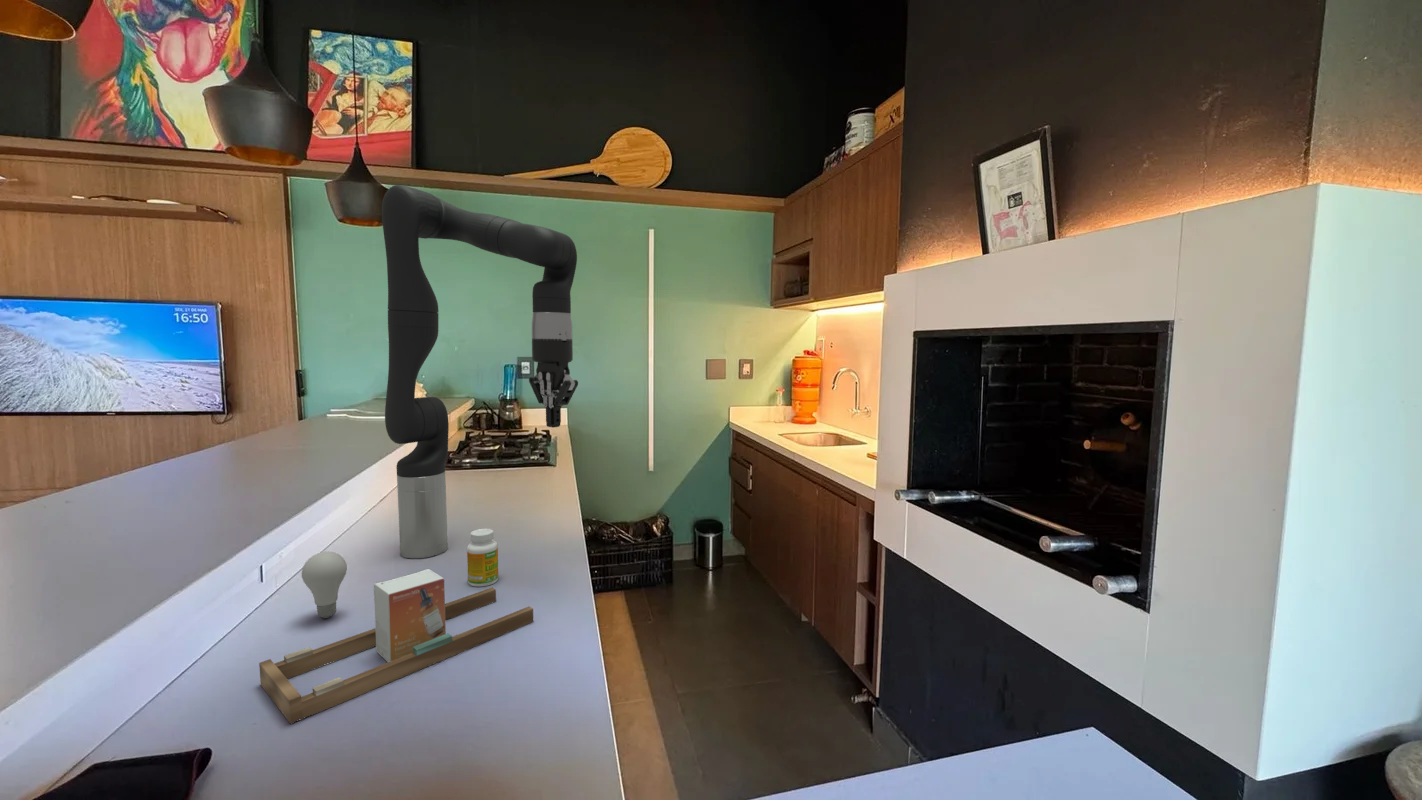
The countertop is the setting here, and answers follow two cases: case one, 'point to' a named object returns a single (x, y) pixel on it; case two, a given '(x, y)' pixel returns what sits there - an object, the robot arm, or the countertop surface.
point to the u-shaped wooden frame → (422, 656)
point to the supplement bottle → (482, 558)
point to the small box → (408, 613)
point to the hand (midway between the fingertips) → (553, 426)
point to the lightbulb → (324, 580)
